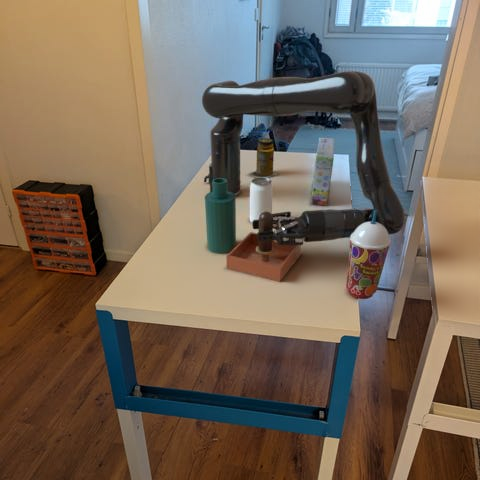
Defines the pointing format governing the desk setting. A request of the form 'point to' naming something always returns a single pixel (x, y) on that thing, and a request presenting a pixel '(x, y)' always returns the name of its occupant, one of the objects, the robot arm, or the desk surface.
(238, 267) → the dish
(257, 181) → the can
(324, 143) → the snack box
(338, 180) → the desk surface
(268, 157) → the condiment
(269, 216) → the stopper
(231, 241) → the flask
